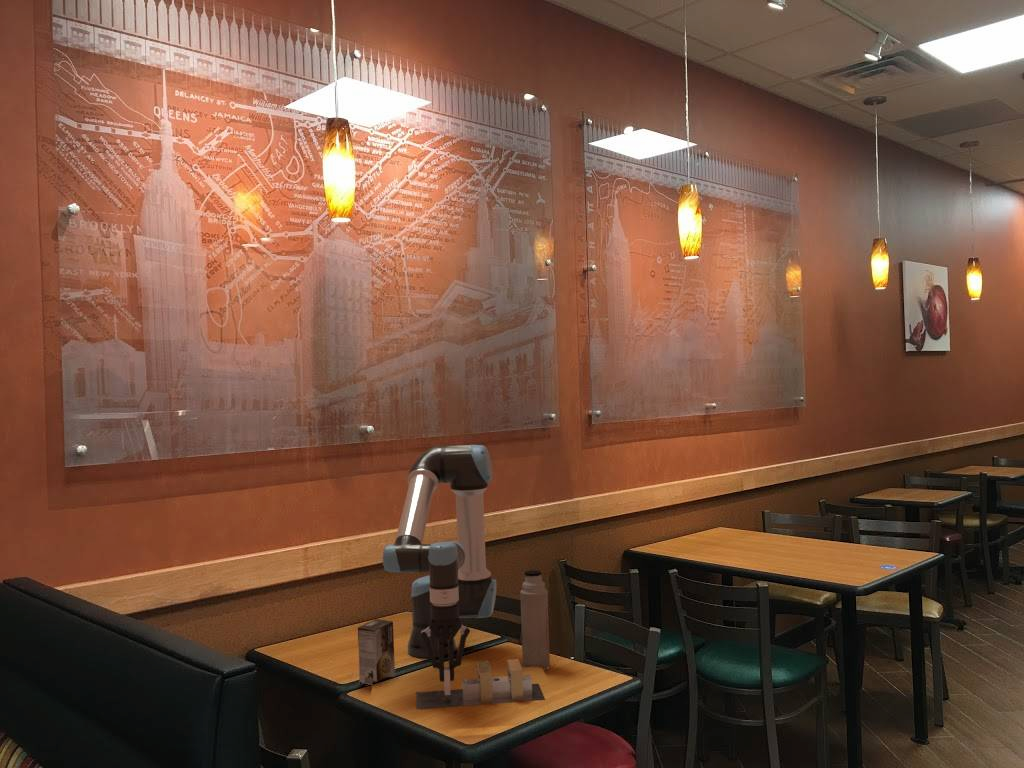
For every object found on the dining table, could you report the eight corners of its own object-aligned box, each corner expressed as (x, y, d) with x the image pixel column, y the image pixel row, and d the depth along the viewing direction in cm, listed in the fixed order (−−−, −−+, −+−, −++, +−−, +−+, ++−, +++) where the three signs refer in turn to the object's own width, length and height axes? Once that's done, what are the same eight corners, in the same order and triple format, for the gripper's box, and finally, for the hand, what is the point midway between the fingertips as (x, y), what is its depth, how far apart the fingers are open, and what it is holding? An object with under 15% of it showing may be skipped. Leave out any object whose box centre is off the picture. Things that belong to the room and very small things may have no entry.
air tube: (462, 694, 220) (462, 679, 220) (530, 689, 222) (529, 674, 222) (463, 700, 216) (462, 684, 216) (532, 695, 218) (531, 679, 218)
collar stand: (416, 698, 223) (415, 664, 223) (538, 689, 226) (537, 655, 226) (416, 715, 211) (415, 679, 211) (545, 705, 215) (544, 670, 215)
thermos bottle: (551, 662, 248) (548, 568, 248) (547, 672, 240) (544, 574, 240) (525, 662, 249) (522, 568, 249) (520, 671, 241) (517, 574, 242)
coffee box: (377, 674, 243) (375, 618, 243) (395, 676, 240) (394, 620, 240) (358, 684, 234) (356, 627, 235) (377, 687, 232) (375, 629, 232)
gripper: (419, 608, 213) (422, 700, 213) (470, 604, 215) (473, 696, 215) (419, 600, 221) (421, 690, 220) (468, 597, 222) (470, 686, 222)
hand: (447, 693), depth 218 cm, fingers closed
